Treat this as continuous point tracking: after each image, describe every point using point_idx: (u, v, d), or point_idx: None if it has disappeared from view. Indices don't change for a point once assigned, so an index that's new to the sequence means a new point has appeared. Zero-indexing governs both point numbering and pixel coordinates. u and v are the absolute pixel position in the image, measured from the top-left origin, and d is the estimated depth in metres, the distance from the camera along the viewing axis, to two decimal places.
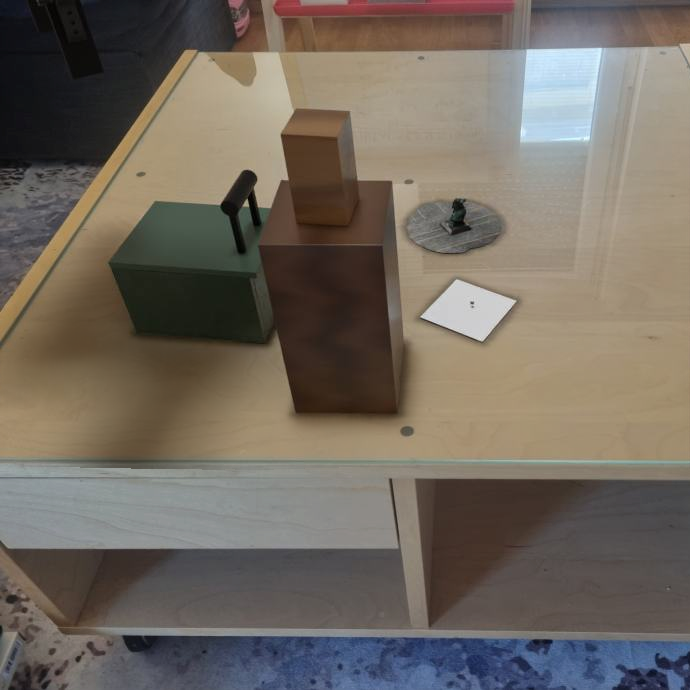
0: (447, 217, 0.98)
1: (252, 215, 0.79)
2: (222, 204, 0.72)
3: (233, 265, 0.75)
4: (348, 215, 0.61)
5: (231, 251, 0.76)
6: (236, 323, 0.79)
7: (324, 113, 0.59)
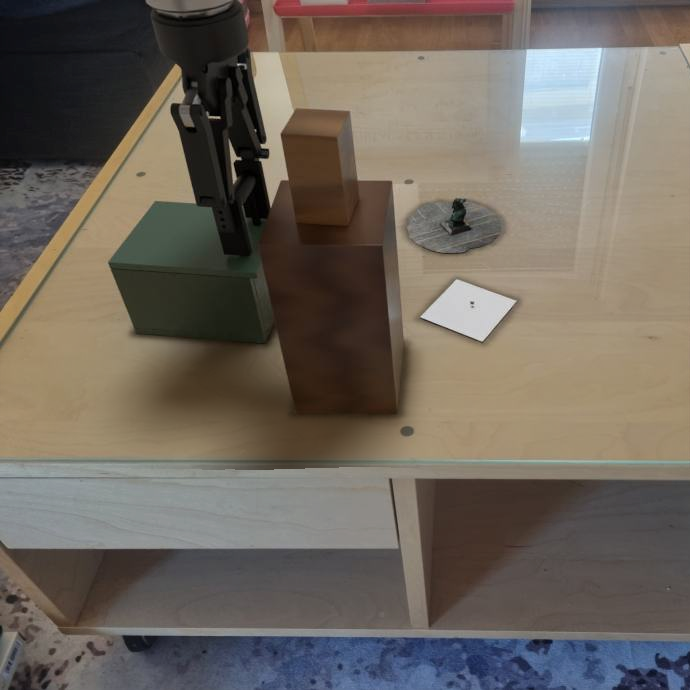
0: (447, 217, 0.98)
1: (252, 215, 0.79)
2: None
3: (233, 265, 0.75)
4: (348, 215, 0.61)
5: None
6: (236, 323, 0.79)
7: (324, 113, 0.59)
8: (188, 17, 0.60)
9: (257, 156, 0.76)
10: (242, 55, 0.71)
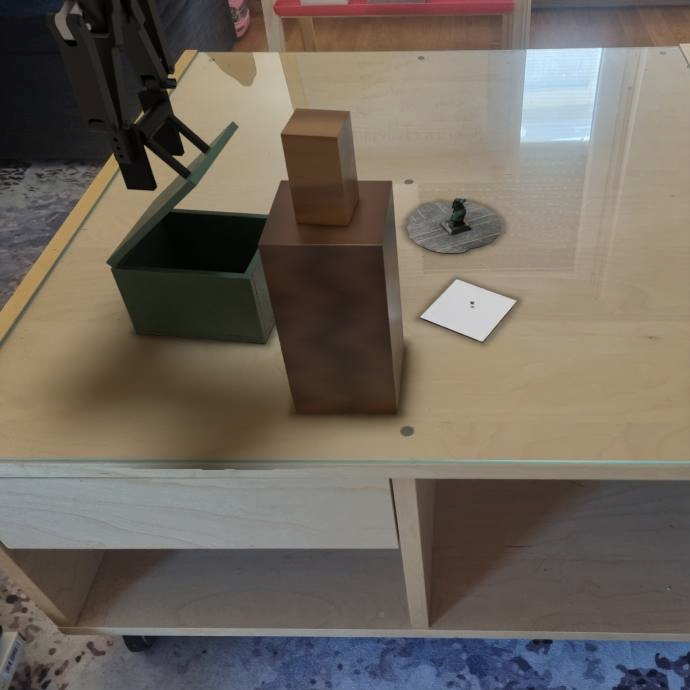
0: (447, 217, 0.98)
1: (194, 143, 0.74)
2: None
3: (177, 189, 0.69)
4: (348, 215, 0.61)
5: (181, 182, 0.71)
6: (236, 323, 0.79)
7: (324, 113, 0.59)
8: None
9: (163, 86, 0.72)
10: None
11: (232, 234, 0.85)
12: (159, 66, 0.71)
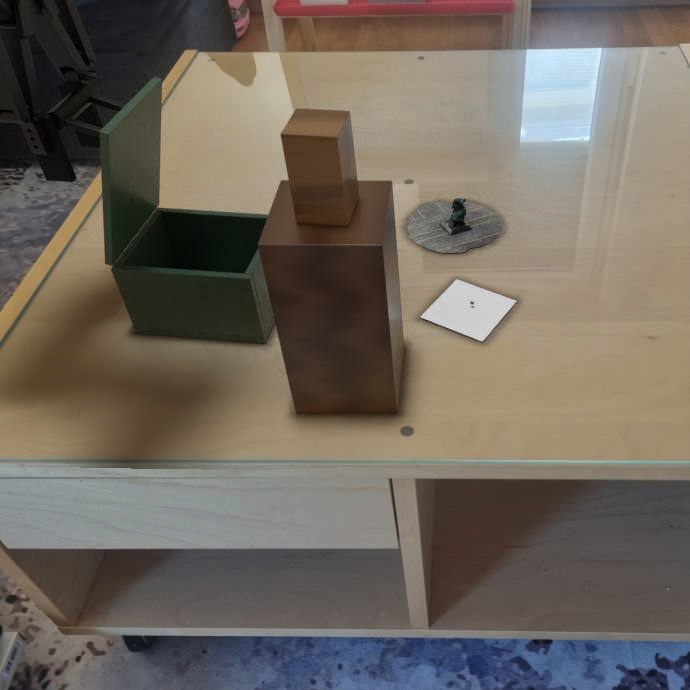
0: (447, 217, 0.98)
1: None
2: None
3: None
4: (348, 215, 0.61)
5: None
6: (236, 323, 0.79)
7: (324, 113, 0.59)
8: None
9: (82, 77, 0.72)
10: None
11: (232, 234, 0.85)
12: (77, 58, 0.71)
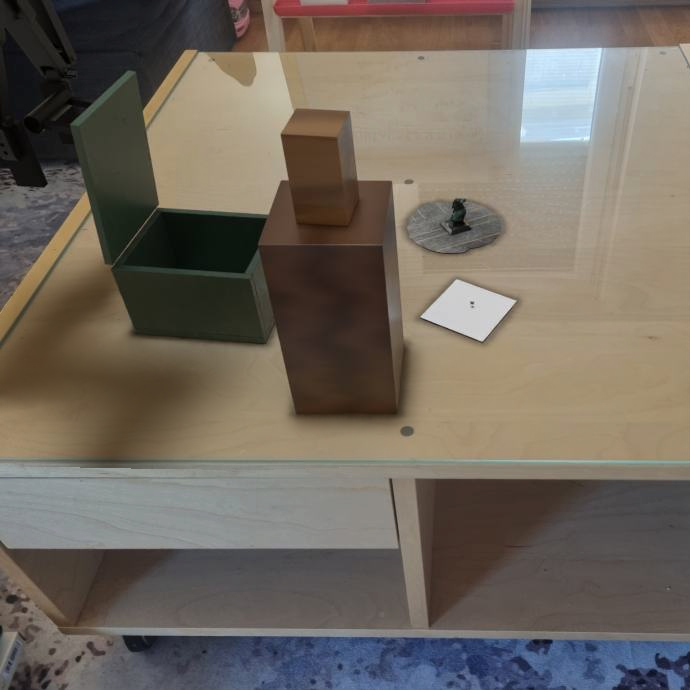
0: (447, 217, 0.98)
1: None
2: (29, 129, 0.69)
3: None
4: (348, 215, 0.61)
5: None
6: (236, 323, 0.79)
7: (324, 113, 0.59)
8: None
9: (63, 76, 0.73)
10: None
11: (232, 234, 0.85)
12: (57, 57, 0.72)
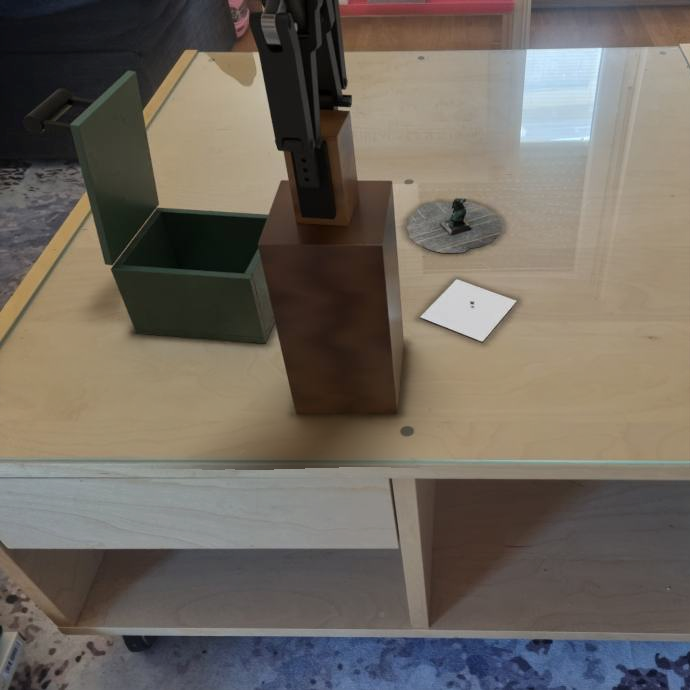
0: (447, 217, 0.98)
1: None
2: (29, 129, 0.69)
3: None
4: (348, 215, 0.61)
5: None
6: (236, 323, 0.79)
7: (324, 113, 0.59)
8: None
9: (337, 103, 0.59)
10: None
11: (232, 234, 0.85)
12: (337, 79, 0.58)
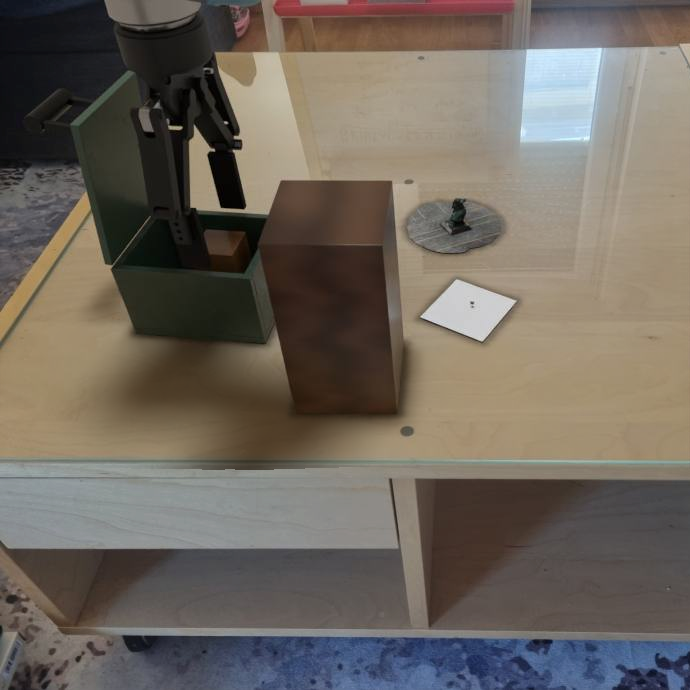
0: (447, 217, 0.98)
1: None
2: (29, 129, 0.69)
3: None
4: None
5: None
6: (236, 323, 0.79)
7: (226, 234, 0.80)
8: (149, 30, 0.61)
9: (231, 148, 0.78)
10: None
11: None
12: (227, 133, 0.76)
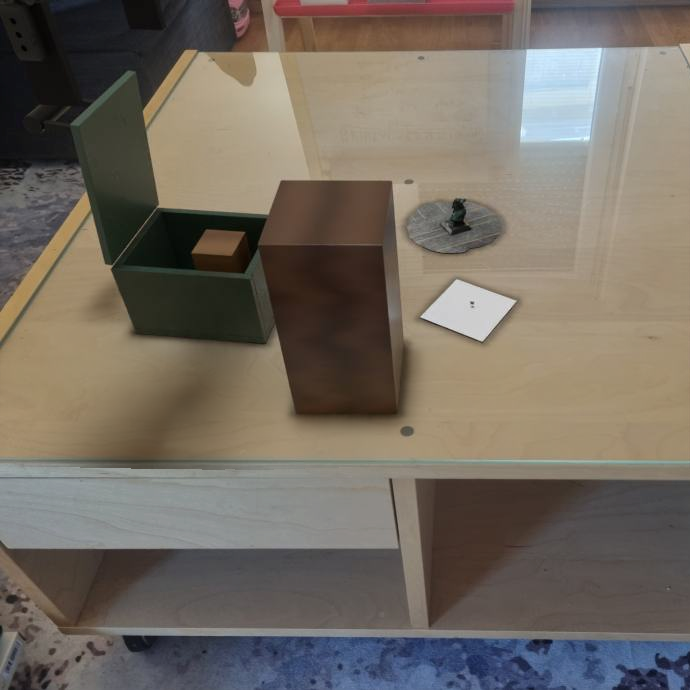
0: (447, 217, 0.98)
1: None
2: (29, 129, 0.69)
3: None
4: None
5: None
6: (236, 323, 0.79)
7: (226, 234, 0.80)
8: None
9: None
10: None
11: None
12: None
